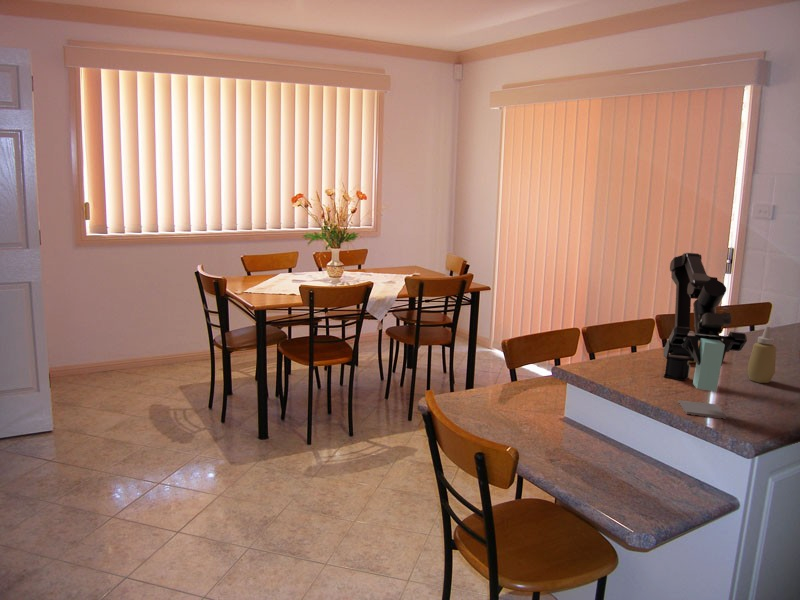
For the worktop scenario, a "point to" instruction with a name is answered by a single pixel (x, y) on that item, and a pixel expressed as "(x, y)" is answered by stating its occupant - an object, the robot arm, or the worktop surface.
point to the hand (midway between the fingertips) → (709, 365)
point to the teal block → (709, 364)
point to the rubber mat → (702, 409)
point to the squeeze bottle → (762, 359)
